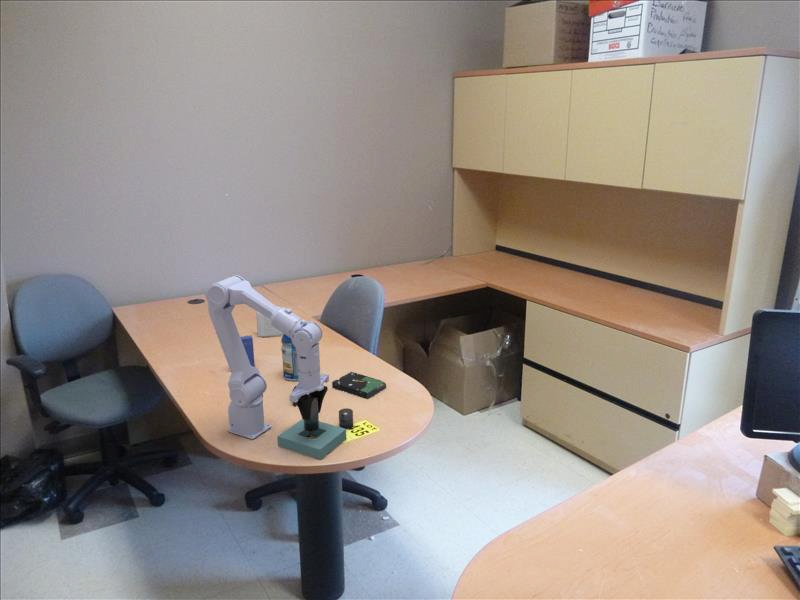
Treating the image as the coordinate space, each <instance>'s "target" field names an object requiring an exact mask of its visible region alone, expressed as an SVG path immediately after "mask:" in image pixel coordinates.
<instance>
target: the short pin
mask: <svg viewBox="0 0 800 600" xmlns="http://www.w3.org/2000/svg"><path fill="white" fill-rule="evenodd" d="M338 425H339V426H338V427H341V428H344V429H346V430H351V429H352V428H353V427H354V410H353V409H351V408H341V409H340V410H338Z"/></svg>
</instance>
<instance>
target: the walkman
mask: <svg viewBox="0 0 800 600" xmlns="http://www.w3.org/2000/svg"><path fill="white" fill-rule="evenodd" d="M240 338H241V340H242V343H243V346H244V348H245V351H246V354H247V356H248V359H249V362H250V364H251V366H253V367H255V368H256V366H255V355H254V338H253V336H252V335H249V334H247V335H246V334H245V335H244V336H243V335H242V336H240Z"/></svg>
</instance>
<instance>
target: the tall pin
mask: <svg viewBox="0 0 800 600" xmlns="http://www.w3.org/2000/svg"><path fill="white" fill-rule="evenodd" d="M307 396H308V397H310V398H314V399H313V401H312V405H311V417H310V420H309V421H307V420H304V429H305V430H306V431H315V430H317V429H318V428H319V421H320V418H319V417H320V416H319V413H318V396H317V395H315V394H309V393H308V394H307Z"/></svg>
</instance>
